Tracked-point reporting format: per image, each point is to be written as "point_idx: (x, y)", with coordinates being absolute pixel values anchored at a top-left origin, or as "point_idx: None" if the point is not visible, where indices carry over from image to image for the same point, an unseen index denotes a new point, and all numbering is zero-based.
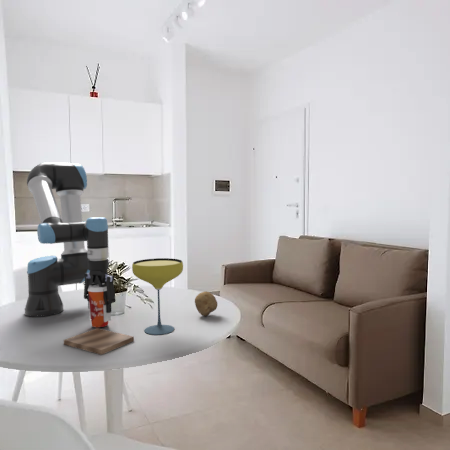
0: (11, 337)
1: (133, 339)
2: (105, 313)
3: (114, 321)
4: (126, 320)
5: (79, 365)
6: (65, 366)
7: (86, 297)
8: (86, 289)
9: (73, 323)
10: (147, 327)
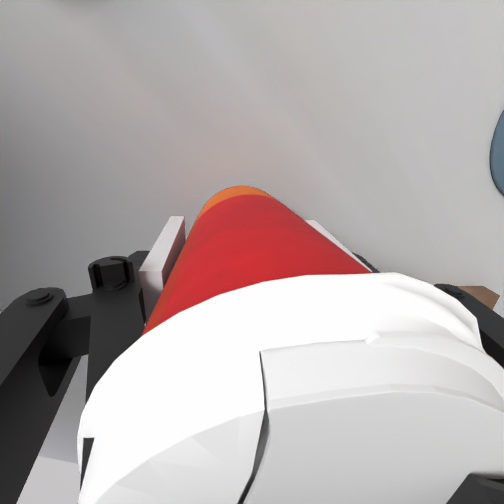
0: (53, 446)
1: (487, 291)
2: None
3: (245, 111)
4: (305, 49)
5: None
6: None
7: (78, 353)
8: (26, 473)
9: (65, 255)
10: (502, 134)
